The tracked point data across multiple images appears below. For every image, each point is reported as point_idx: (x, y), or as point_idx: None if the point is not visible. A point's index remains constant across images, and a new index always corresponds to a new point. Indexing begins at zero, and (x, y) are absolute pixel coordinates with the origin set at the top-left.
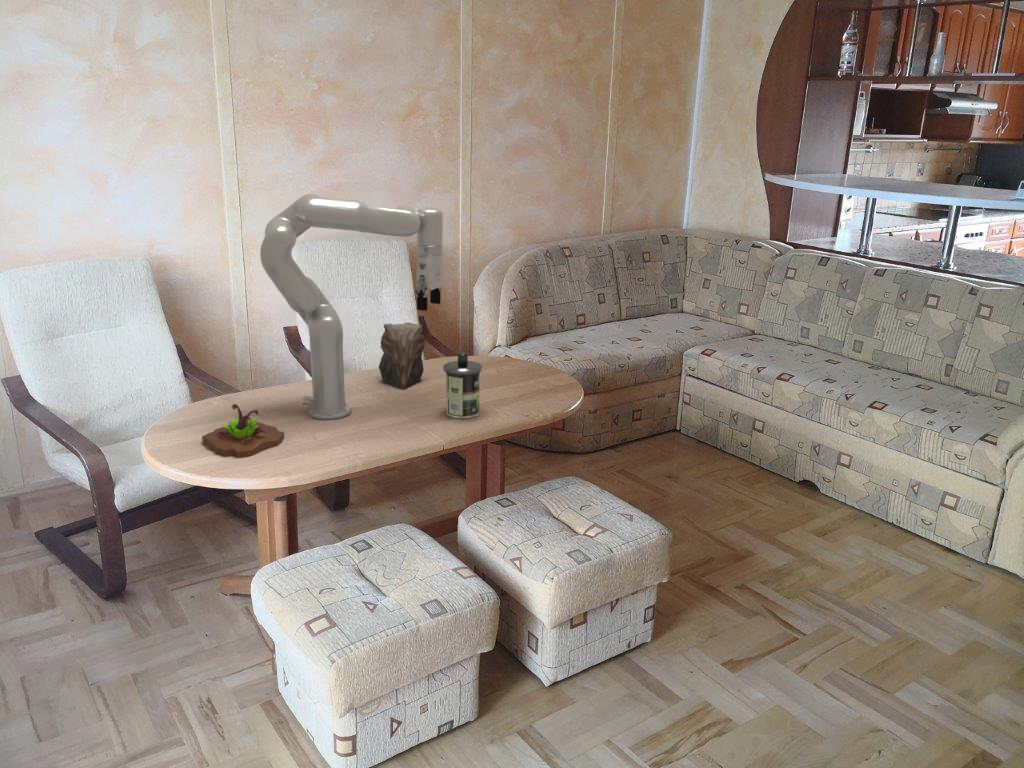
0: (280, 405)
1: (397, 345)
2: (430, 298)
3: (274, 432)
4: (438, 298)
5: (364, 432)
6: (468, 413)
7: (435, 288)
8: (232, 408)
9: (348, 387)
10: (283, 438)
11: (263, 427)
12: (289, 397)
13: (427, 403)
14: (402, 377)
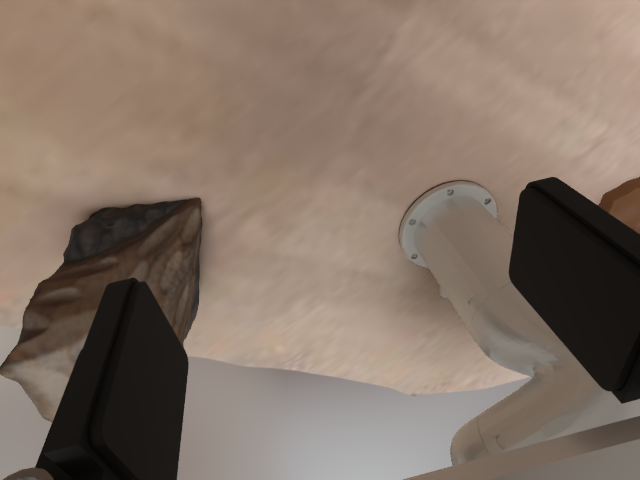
0: (442, 315)
1: (171, 326)
2: (183, 404)
3: (631, 207)
4: (133, 340)
5: (545, 65)
6: None
7: (622, 441)
8: None
9: (280, 304)
10: (611, 191)
11: (635, 230)
12: (396, 334)
13: (252, 55)
14: (194, 226)
